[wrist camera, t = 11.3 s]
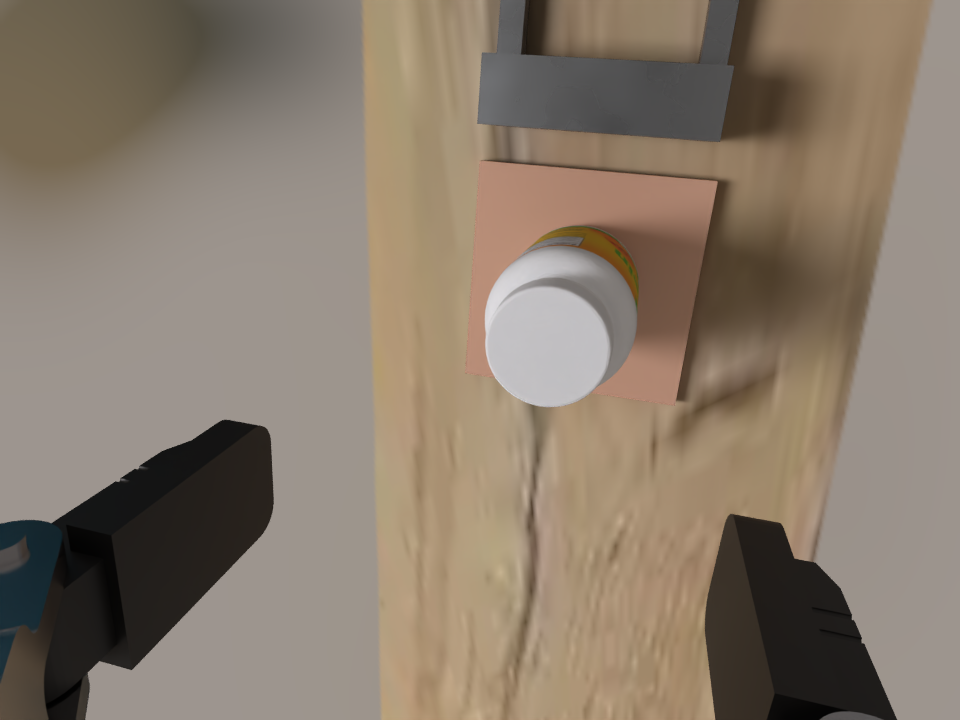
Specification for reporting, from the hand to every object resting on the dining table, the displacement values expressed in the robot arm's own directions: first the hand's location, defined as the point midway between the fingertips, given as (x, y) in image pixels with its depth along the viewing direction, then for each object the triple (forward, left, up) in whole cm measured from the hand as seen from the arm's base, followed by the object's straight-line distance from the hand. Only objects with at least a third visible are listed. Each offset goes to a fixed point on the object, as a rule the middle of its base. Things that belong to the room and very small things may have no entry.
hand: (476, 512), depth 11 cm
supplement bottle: (0, 0, -20) cm, 20 cm away
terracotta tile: (0, 0, -20) cm, 20 cm away
